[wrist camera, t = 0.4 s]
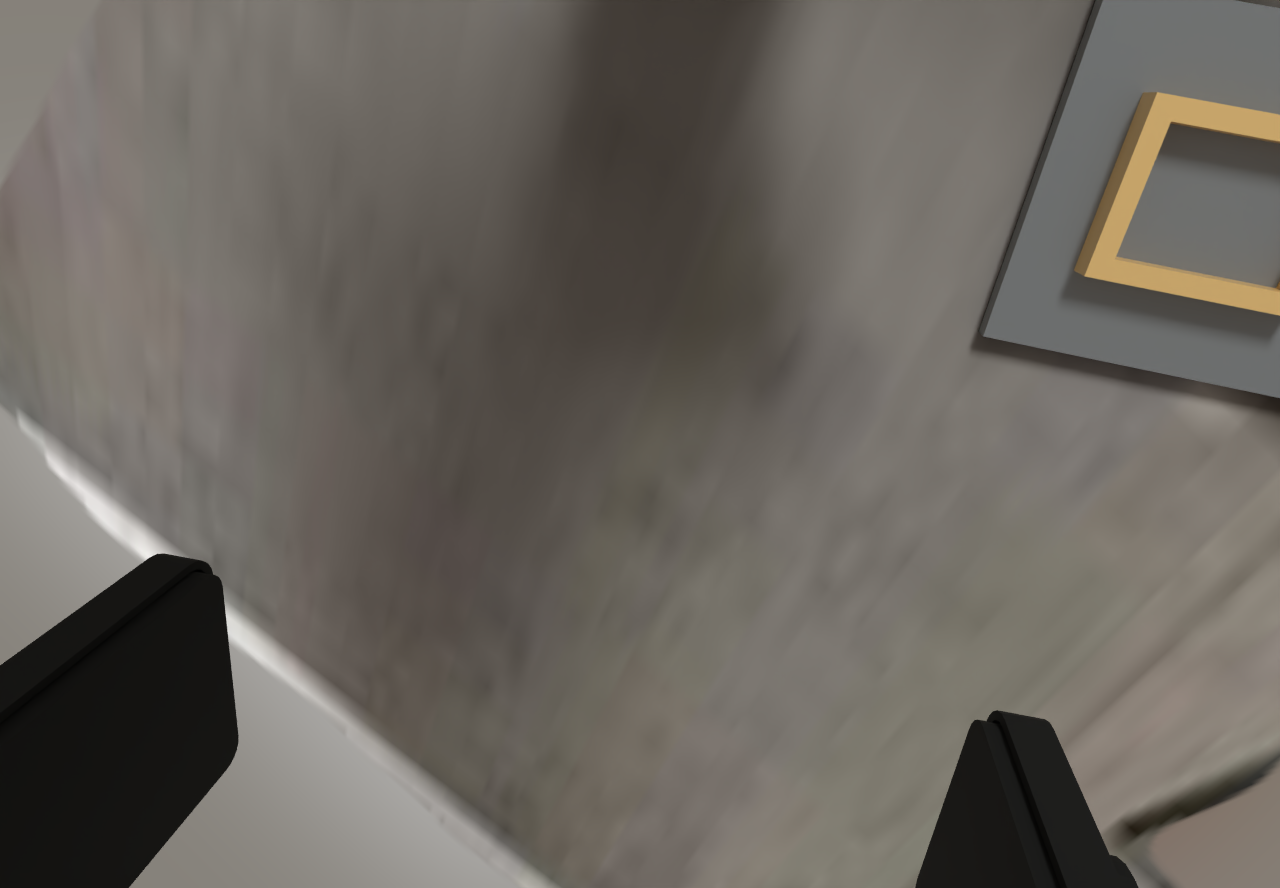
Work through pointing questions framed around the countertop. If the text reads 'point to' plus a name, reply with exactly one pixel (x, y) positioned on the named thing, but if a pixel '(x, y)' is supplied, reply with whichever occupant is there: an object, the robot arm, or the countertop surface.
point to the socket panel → (1158, 199)
